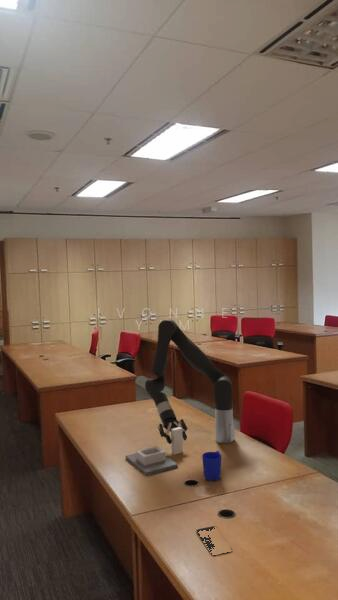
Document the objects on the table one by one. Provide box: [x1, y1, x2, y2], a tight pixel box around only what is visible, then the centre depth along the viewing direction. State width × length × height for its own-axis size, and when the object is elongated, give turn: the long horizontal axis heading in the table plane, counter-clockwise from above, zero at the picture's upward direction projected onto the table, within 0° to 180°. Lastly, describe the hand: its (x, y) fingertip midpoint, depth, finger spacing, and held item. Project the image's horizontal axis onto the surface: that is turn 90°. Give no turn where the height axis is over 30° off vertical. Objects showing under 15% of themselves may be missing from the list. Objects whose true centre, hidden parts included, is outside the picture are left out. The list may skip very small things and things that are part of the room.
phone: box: [195, 525, 216, 555], centre depth 150 cm, size 7×1×15 cm
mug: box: [201, 450, 222, 482], centre depth 198 cm, size 8×12×10 cm
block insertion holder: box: [125, 445, 179, 476], centre depth 214 cm, size 22×16×6 cm
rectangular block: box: [170, 427, 184, 455], centre depth 226 cm, size 2×5×12 cm, turn 120°
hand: (178, 441), depth 224 cm, fingers open, 8 cm apart
